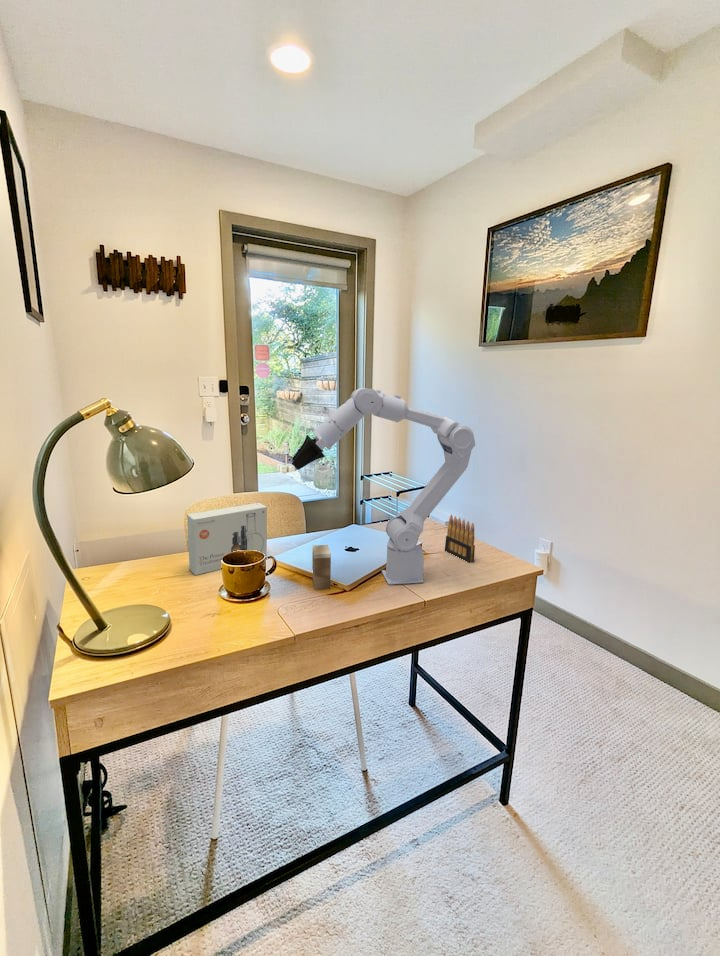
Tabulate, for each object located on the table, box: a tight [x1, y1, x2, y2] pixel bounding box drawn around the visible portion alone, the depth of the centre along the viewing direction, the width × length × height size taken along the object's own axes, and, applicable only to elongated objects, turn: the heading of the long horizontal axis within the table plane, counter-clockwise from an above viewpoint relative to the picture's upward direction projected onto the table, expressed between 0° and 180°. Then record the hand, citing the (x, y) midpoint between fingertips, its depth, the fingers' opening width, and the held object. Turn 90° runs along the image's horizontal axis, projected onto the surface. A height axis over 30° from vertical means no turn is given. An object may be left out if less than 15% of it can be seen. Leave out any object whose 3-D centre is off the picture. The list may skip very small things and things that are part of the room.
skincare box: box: [186, 502, 268, 576], centre depth 122 cm, size 21×6×16 cm, turn 129°
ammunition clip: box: [444, 514, 476, 564], centre depth 132 cm, size 11×2×12 cm, turn 32°
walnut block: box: [311, 544, 332, 591], centre depth 112 cm, size 4×6×10 cm, turn 11°
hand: (294, 464), depth 106 cm, fingers open, 7 cm apart
